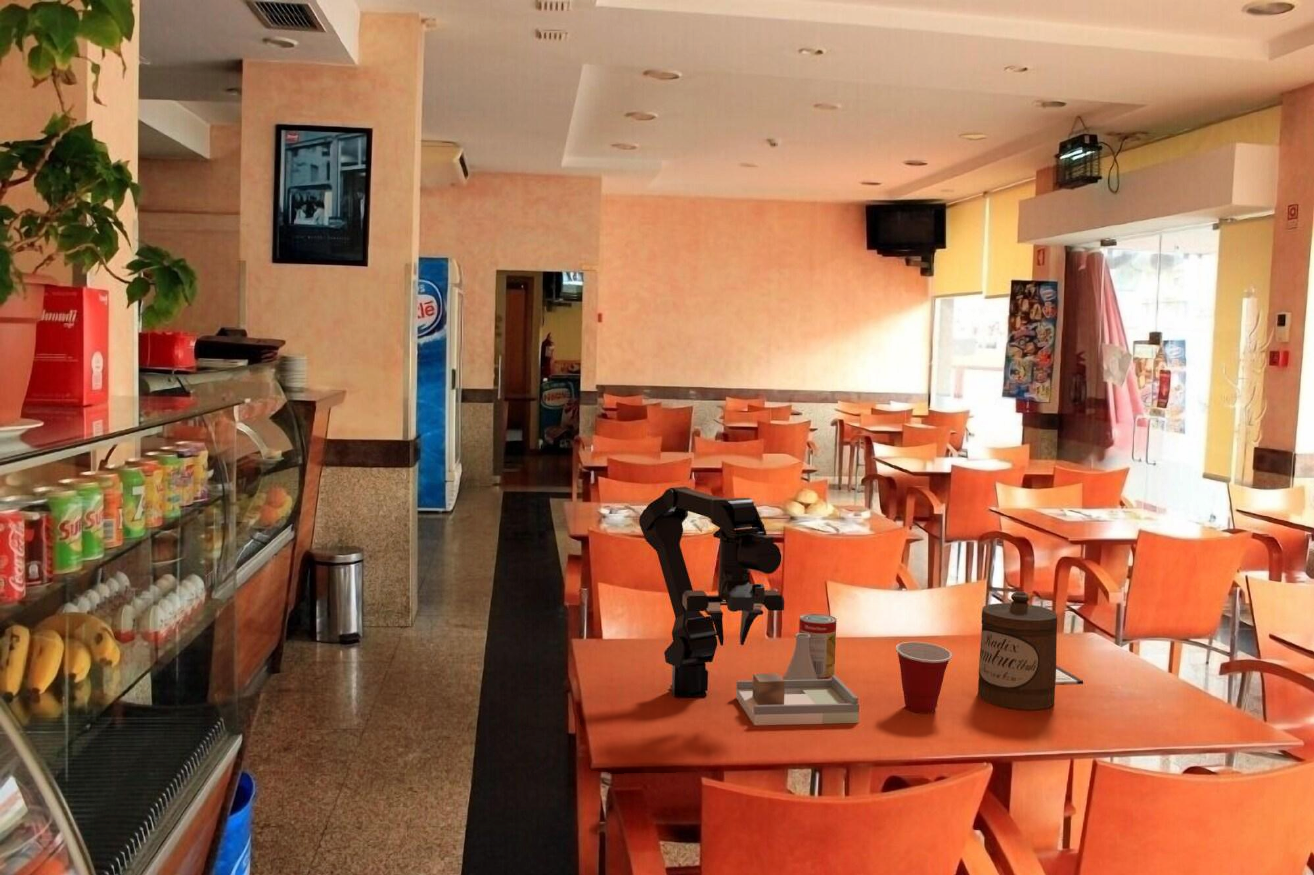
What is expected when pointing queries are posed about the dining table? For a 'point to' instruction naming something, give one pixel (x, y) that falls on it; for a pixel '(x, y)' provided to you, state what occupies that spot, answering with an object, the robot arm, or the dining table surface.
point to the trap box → (803, 703)
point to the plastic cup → (922, 674)
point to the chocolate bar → (1066, 677)
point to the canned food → (820, 642)
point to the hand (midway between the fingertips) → (731, 644)
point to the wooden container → (1018, 654)
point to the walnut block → (768, 689)
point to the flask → (801, 660)
